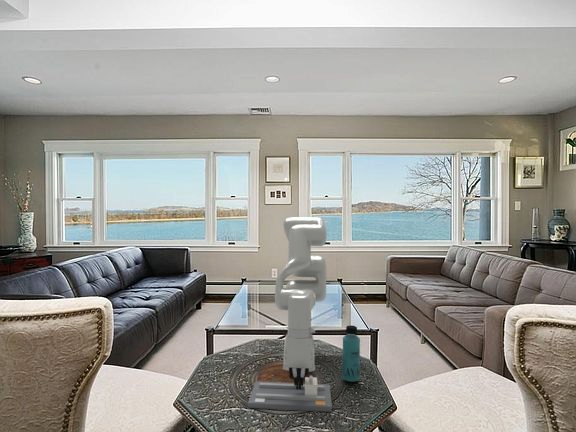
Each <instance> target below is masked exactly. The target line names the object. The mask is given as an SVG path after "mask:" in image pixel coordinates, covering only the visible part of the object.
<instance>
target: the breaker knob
mask: <svg viewBox="0 0 576 432" xmlns="http://www.w3.org/2000/svg"><path fill="white" fill-rule="evenodd" d="M313 376H314V375H309V377H308V376H304V383H305V395H308V396H317V384H318V377H313Z"/></svg>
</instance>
